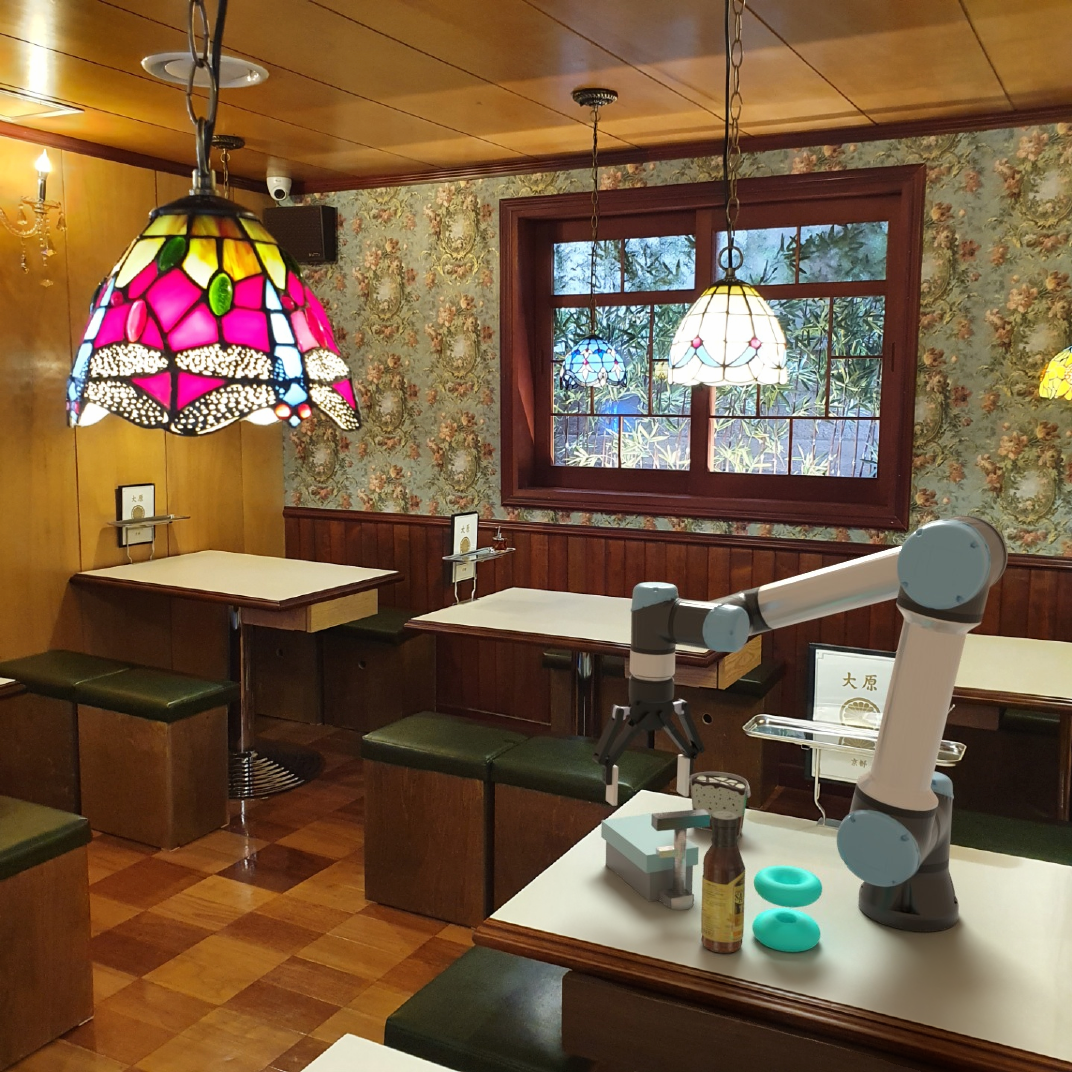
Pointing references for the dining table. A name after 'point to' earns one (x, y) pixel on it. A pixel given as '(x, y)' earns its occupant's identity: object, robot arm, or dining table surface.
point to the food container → (719, 794)
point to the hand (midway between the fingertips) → (647, 798)
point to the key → (678, 839)
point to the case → (651, 881)
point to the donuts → (785, 924)
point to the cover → (644, 842)
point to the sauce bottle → (723, 887)
